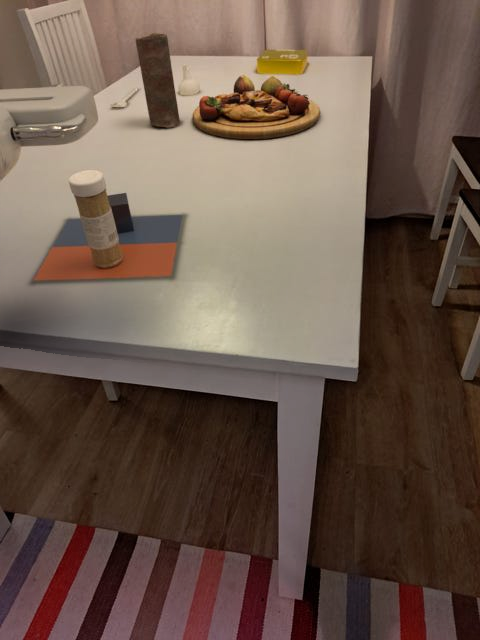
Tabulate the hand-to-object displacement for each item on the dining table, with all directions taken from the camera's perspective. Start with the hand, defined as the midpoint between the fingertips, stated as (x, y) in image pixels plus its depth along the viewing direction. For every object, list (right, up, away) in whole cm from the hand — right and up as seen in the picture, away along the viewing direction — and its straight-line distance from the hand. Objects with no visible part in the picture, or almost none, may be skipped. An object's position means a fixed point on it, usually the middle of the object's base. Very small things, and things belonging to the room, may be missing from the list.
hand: (18, 93), depth 52 cm
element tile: (+39, +58, +102) cm, 124 cm away
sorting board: (+5, -14, +22) cm, 26 cm away
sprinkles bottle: (+5, -17, +18) cm, 25 cm away
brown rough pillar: (+6, +23, +65) cm, 69 cm away
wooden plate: (+29, +25, +66) cm, 76 cm away
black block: (+5, -10, +25) cm, 28 cm away
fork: (-8, +38, +83) cm, 91 cm away
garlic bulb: (+10, +41, +85) cm, 95 cm away
